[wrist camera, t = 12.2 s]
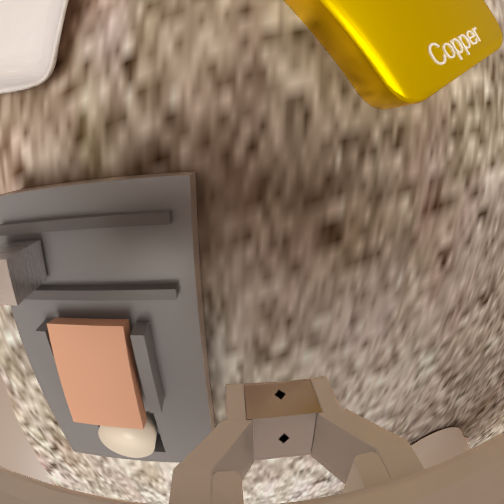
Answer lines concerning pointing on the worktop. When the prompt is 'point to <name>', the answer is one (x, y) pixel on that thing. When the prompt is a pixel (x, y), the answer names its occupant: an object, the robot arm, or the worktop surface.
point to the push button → (131, 438)
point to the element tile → (401, 43)
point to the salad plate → (29, 41)
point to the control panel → (121, 294)
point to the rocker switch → (98, 371)
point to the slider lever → (20, 270)
